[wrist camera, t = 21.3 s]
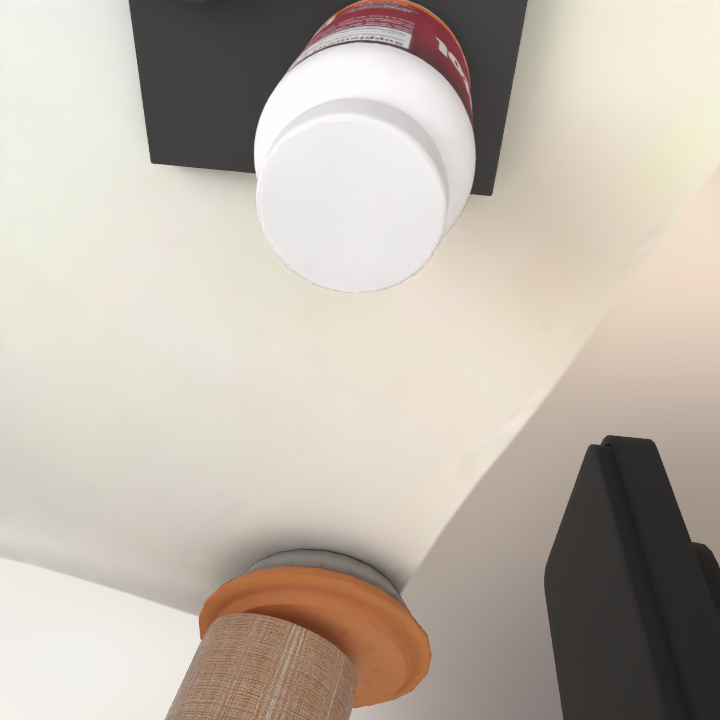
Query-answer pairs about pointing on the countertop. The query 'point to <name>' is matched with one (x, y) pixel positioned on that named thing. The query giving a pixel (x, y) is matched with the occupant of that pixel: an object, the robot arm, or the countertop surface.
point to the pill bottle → (366, 148)
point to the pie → (335, 615)
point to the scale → (274, 58)
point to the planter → (265, 673)
